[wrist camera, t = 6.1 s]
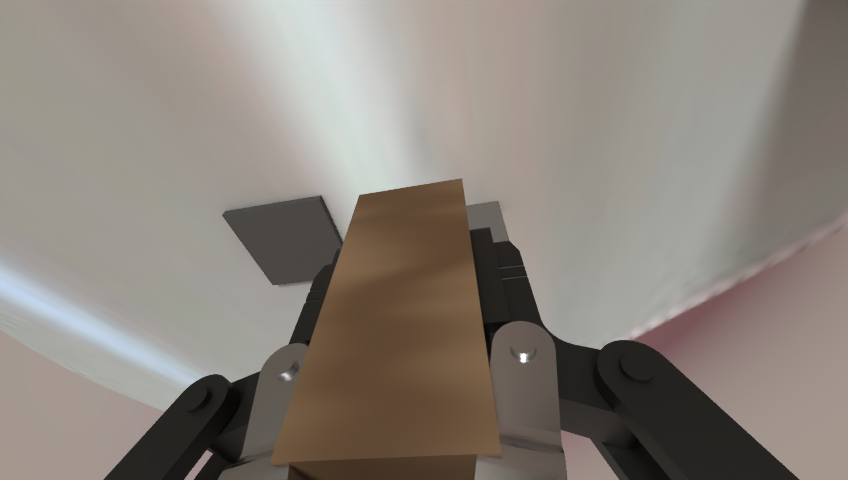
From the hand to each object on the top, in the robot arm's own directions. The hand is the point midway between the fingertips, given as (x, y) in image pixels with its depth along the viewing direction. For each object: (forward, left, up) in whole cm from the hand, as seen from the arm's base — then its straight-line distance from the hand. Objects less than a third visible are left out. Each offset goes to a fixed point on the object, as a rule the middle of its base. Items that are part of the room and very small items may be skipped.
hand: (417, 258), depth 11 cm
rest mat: (+14, +9, -15) cm, 23 cm away
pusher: (0, 0, -2) cm, 2 cm away
